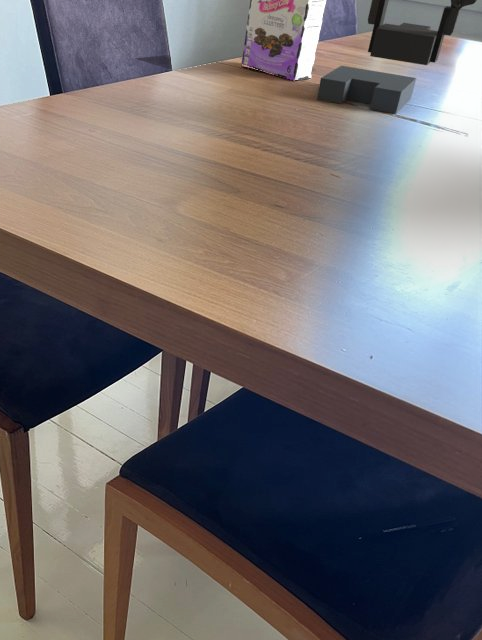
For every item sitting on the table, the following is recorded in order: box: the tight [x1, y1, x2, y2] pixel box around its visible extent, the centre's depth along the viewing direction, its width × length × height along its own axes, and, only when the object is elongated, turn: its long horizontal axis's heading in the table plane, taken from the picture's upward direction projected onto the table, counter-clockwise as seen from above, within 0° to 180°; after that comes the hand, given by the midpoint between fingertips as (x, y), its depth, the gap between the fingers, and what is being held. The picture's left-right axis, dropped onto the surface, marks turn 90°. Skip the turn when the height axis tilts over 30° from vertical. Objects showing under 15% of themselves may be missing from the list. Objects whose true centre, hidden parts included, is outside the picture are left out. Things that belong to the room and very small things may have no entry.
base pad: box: [316, 65, 417, 115], centre depth 131 cm, size 14×14×4 cm
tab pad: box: [369, 22, 438, 66], centre depth 105 cm, size 8×10×4 cm
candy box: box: [241, 0, 327, 82], centre depth 139 cm, size 14×6×16 cm, turn 43°
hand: (402, 55), depth 104 cm, fingers closed on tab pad, 8 cm apart
